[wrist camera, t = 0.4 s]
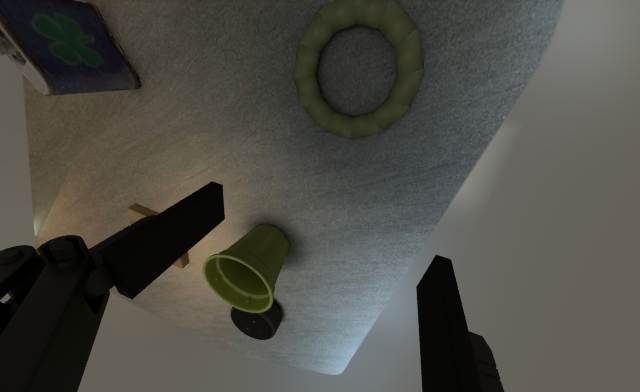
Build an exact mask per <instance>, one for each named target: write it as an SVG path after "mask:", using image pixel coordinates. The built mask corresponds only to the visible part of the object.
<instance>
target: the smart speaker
mask: <svg viewBox="0 0 640 392" xmlns="http://www.w3.org/2000/svg"><path fill="white" fill-rule="evenodd" d="M231 319H232V321H233V323H234V324H235V326H236V327H237V328H238V329H239V330H240V331H242V332H243V333H244V334H246V335H248V336H250V337H252V338H255V339H259V340H267V339H270V338H272V337H273V336H274V335H275V333H276V331H277V329H278V327H279V325H280V323H281V320H282V314H281V311H280V309H279V307H278V306H277V304H276V303H275V302H274V301H273V303H272V305H271V307H270V308H269V309H268V310H266V311H265V312H261V313H250V312H246V311H242V310H239V309H237V308H235V307H232V309H231Z"/></svg>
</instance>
